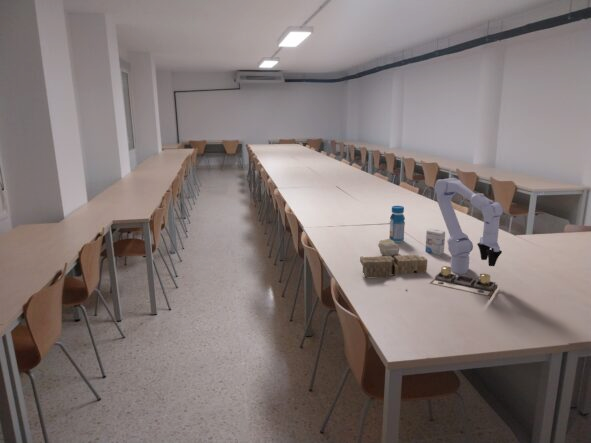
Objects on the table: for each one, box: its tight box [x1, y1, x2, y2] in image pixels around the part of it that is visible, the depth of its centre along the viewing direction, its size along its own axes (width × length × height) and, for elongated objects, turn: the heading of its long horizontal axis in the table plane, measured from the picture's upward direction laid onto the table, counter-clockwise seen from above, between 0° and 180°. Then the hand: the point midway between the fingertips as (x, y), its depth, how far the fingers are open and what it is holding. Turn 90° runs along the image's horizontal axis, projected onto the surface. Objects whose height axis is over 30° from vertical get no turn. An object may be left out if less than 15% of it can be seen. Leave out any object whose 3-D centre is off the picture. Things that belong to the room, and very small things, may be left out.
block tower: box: [359, 254, 428, 278], centre depth 194 cm, size 8×8×29 cm
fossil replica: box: [377, 238, 400, 257], centre depth 220 cm, size 12×8×10 cm
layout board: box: [429, 271, 498, 300], centre depth 178 cm, size 14×24×3 cm, turn 54°
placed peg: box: [440, 265, 452, 279], centre depth 184 cm, size 4×4×5 cm
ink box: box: [424, 228, 446, 256], centre depth 222 cm, size 9×5×12 cm, turn 47°
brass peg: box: [478, 273, 491, 287], centre depth 175 cm, size 4×4×5 cm
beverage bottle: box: [388, 205, 406, 243], centre depth 242 cm, size 8×8×20 cm
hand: (487, 262), depth 179 cm, fingers open, 7 cm apart
